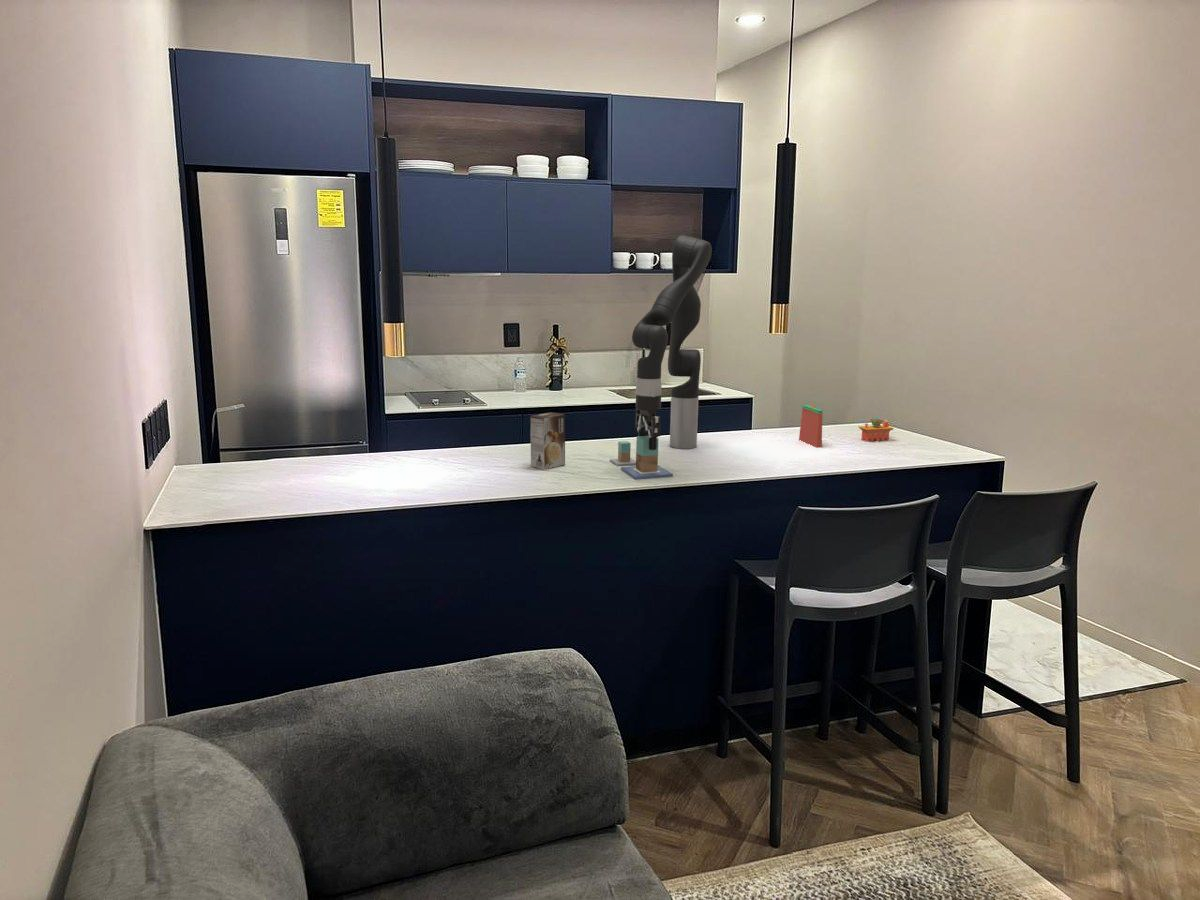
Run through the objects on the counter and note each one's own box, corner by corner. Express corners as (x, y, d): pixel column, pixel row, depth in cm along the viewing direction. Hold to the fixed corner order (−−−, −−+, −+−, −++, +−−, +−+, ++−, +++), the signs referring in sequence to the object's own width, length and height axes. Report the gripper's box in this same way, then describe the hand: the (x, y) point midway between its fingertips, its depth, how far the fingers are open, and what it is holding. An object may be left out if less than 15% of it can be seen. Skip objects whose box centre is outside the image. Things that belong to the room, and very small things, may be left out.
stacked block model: (609, 461, 276) (610, 440, 275) (630, 459, 278) (630, 439, 277) (617, 466, 270) (617, 445, 268) (638, 464, 272) (638, 444, 271)
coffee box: (551, 461, 275) (551, 411, 271) (565, 465, 270) (565, 414, 267) (529, 466, 268) (529, 415, 264) (544, 470, 264) (544, 418, 260)
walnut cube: (635, 468, 263) (636, 452, 262) (651, 467, 265) (651, 451, 264) (642, 472, 259) (642, 456, 258) (657, 471, 260) (657, 455, 259)
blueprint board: (620, 469, 266) (621, 466, 265) (657, 467, 269) (657, 464, 269) (635, 479, 254) (635, 476, 254) (672, 476, 258) (673, 473, 258)
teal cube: (636, 452, 262) (636, 436, 261) (651, 451, 264) (652, 435, 263) (642, 456, 258) (642, 439, 256) (658, 455, 259) (658, 438, 258)
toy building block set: (798, 440, 311) (801, 401, 308) (884, 436, 321) (887, 398, 317) (816, 448, 299) (819, 407, 296) (904, 443, 309) (908, 404, 306)
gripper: (628, 389, 262) (627, 442, 265) (645, 397, 249) (644, 452, 252) (651, 388, 264) (649, 441, 268) (669, 396, 251) (668, 451, 255)
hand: (647, 446), depth 260 cm, fingers open, 8 cm apart
